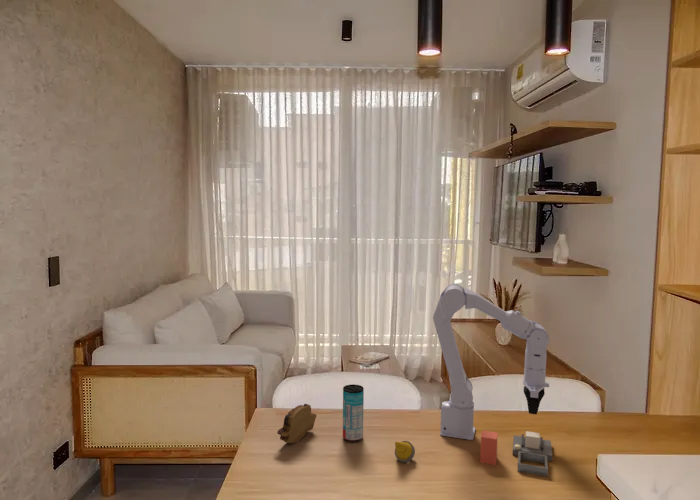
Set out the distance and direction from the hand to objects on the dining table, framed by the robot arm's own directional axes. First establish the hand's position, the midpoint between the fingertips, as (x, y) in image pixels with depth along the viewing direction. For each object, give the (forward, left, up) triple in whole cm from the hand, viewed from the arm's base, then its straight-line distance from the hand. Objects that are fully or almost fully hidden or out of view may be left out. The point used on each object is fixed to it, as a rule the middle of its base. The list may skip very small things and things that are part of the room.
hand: (532, 413), depth 148 cm
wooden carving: (-64, -22, -8) cm, 68 cm away
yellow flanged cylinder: (-32, -24, -8) cm, 41 cm away
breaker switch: (0, -7, -7) cm, 9 cm away
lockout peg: (-11, -16, -8) cm, 21 cm away
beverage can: (-49, -16, -8) cm, 52 cm away
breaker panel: (0, -6, -8) cm, 10 cm away
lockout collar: (0, -16, -8) cm, 18 cm away
